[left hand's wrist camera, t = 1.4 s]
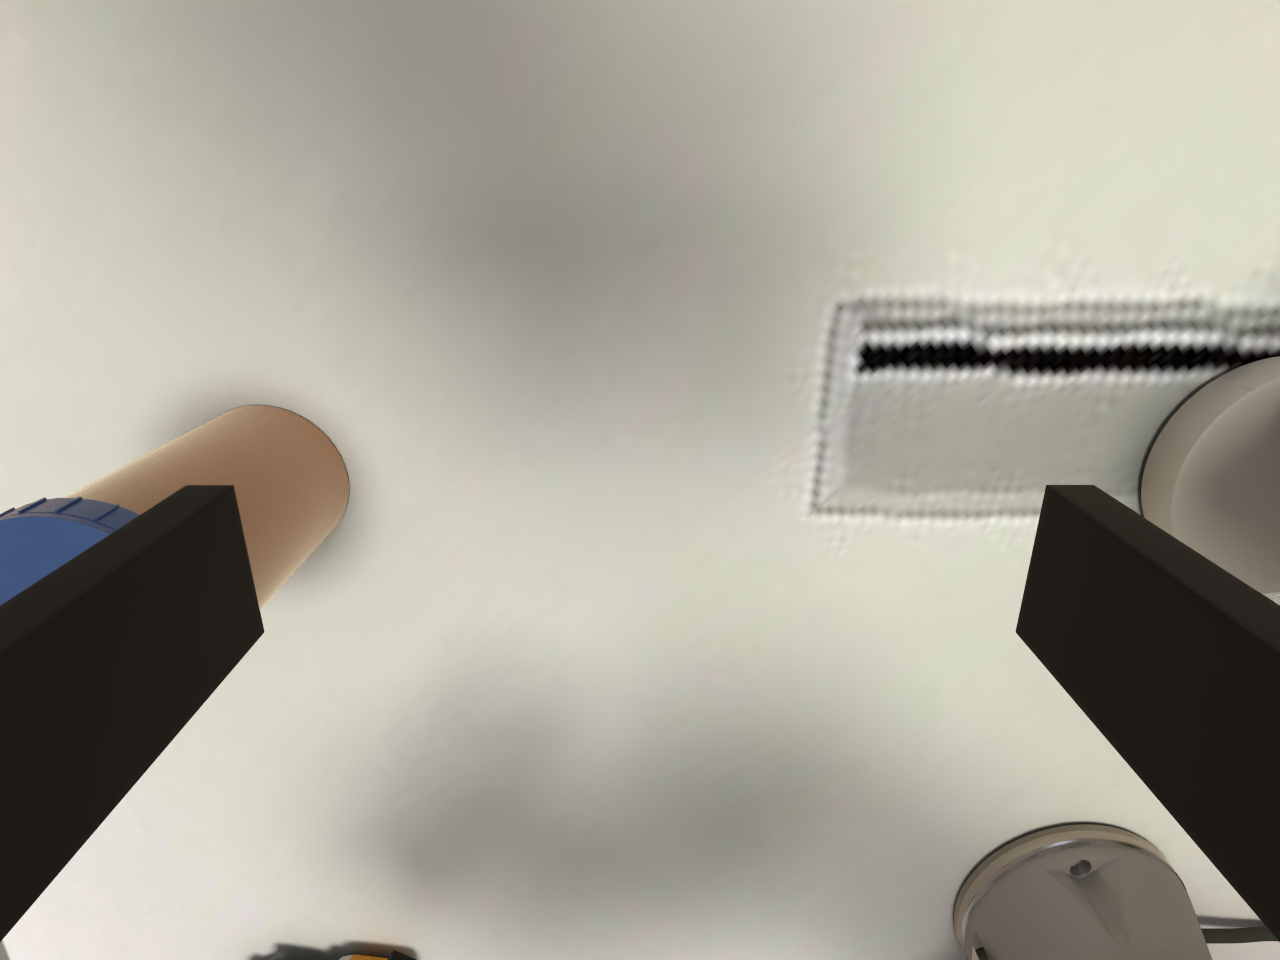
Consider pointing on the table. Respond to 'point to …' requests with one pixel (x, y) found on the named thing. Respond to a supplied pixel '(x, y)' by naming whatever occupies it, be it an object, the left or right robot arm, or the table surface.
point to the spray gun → (361, 957)
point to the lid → (51, 537)
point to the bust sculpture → (1223, 474)
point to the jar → (247, 484)
